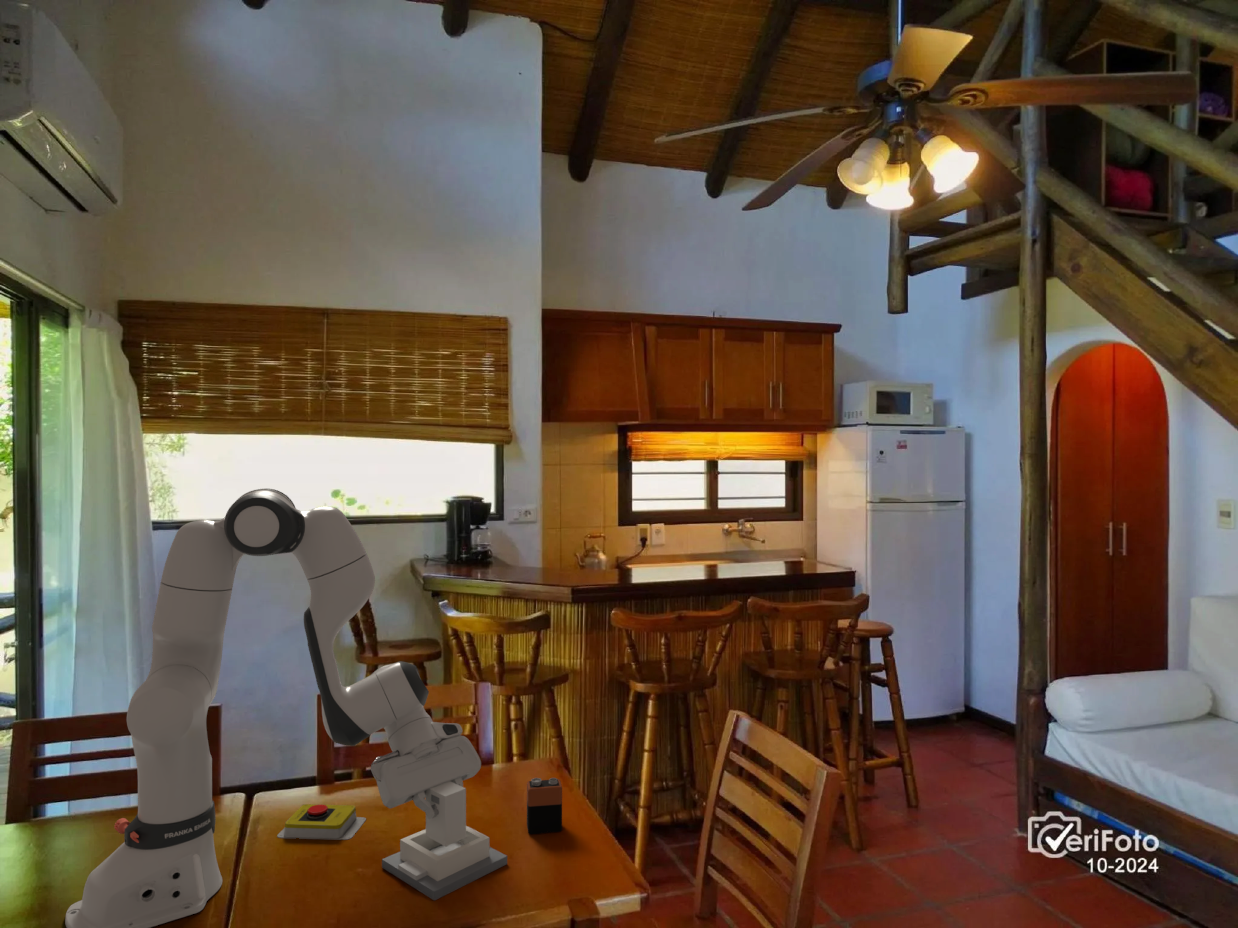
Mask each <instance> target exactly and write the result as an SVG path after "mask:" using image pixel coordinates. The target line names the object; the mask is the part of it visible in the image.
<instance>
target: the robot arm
mask: <svg viewBox="0 0 1238 928" xmlns="http://www.w3.org/2000/svg"><path fill="white" fill-rule="evenodd" d="M173 538H174V539H173V541H172V543H171V545H170V548H169V549H168V554H167V556H166V560H165V563H164V567H163V570H162V575H161V578H160V585H159V588H158V589H159V590H158V595H157V599H156V605H155V611H154V616H153V620H152V626H151V630H152V652H151V653H152V654H151V655H152V656H151V662H150V670H149V673H148V674H147V678H146V679H145V680H144V682H143V683H142V684H141V685H139V687H138V688H137V689H136V690H135V691H134V693H133V694H132V696H131V699H130V701H129V704H128V708H127V712H126V726H127V729H128V731H129V733H130V735H131V742H132V749H133V753H134V757H135V762H136V768H137V769H136V770H137V814H136V816H135V817H134V818H133V820H132V821H129V820H128V819H127V818H125V817H122V818H119V819H118V820H116V821H115V823H114V826H113V827H114V830H115V831H117V832H118V834H120V835H123V834H124V837H123V838H124V842H123V843H121V844H120V845H119V846H118V847H117V848H116V849H115V850H114V851H113V852H112V853H110V855H109V856H108V857H106V858H105V859H104V860H103V861H102V862H101V863H100V864H99V865H98V866H97V867H95V868H94V869H93V870H92V871H91V872H90V873H89V874H88V876H87V879H86V881H85V884H84V887H83V892H82V899H81V900H78V901H76V902H74V903H73V904H71V905H70V906H69V907H68V908H67V911H66V913H65V917H64V918H65V920H64V922H65V923H64V924H65V928H153V927H156V926H158V925H163V924H165V923H169V922H172V921H176V920H178V919H182V918H185V917H188V916H191V915H193V914H197V913H200V912H201V911H202V910H203V909H204V908H205V906H206V904H207V901H208V900H209V899H211V898H212V897H213V896H214V895H215V894H216V893H217V892H218V891H219V890H220V888H221V887H222V885H223V877H222V875H221V874H222V873H221V872H220V868H219V864H218V860H217V856H216V854H217V853H216V848H215V841H214V834H215V831H216V808H215V807H216V806H215V801H214V800H213V758H212V757H213V756H212V755H211V752H210V746H209V740H208V739H209V738H208V731H207V729H208V728H207V715H208V710H209V707H210V706H211V703H212V702H213V701H214V700H215V697H216V695H217V692H218V687H219V680H220V674H221V665H222V657H223V647H224V637H225V630H226V625H227V619H228V618H227V617H228V613H229V609H230V602H231V597H232V593H233V592H232V591H233V587H234V581H235V575H236V570H237V567H238V565H239V562H240V560H241V559H242V557H244V556H245V555H248V556H253V557H267V556H273V555H282V554H290V553H292V554H293V555H294V557H295V558H296V560H298V563H299V565H300V567H301V569H302V571H303V573H304V575H305V578H306V579H307V582H308V585H309V588H310V600H309V601H310V602H309V606H308V608H306V610H305V611H304V613H303V627H304V632H305V636H306V639H307V647H308V651H309V657H310V659H311V663H312V664H311V665H312V668H313V673H314V676H315V680H316V685H317V688H318V690H319V694H320V700H321V716H322V723H323V726H324V729H325V731H326V733H327V735H328V736H329V738H330V739H331V740H332V741H333V743H335V744H338V745H339V744H340V745H344V746H350V747H355V746H357V745H358V744H360V743H362V741H365V739H367V738H369V737H371V735H372V734H374V733H376V732H378V731H380V730H381V729H384V731H385V734H386V739H387V743H388V745H389V747H390V749H391V751H392V752H388V753H386V754H384V755H380V756H377V757H375V759H374V761H372V763H371V764H370V765H371V766H370V771H371V773H372V776H373V777H374V780H375V781H376V785H377V790H378V793H379V796H380V800H381V802H382V804H383V806H385V807H387V808H388V809H393V808H396V807H398V806H401V805H404V804H407V803H408V802H411V801H413V803H414V806H416V807H417V808H418V809H420V810H421V811H422V812H424V813H425V816H426V815H427V817H428V819H432V818H434V817H436V816H437V815H438V814H439V811H438V809H437V806H436V804H434V805H431V804H430V803H429V802H428V801H426V790H428V789H430V788H433V787H435V786H438V785H441V784H443V783H446V782H449V781H451V782H453V783H455V784H457V785H460V786H462V787H464V782H463V781H466V780H468V779H470V778H473V777H475V775H477V774H478V773H479V771H480V769H481V768H482V767H481V766H482V761H481V758H480V756H479V754H478V753H477V751H476V749H475V747H474V746H473V744H472V743H471V741H470V740H469V738H468V737H466V736H464V735H462V733H463V728H462V726H461V724H460V723H456V722H455V723H453V722H452V723H450V722H449V723H448V722H446V723H445V722H437V721H433V719H432V717H431V716H430V715H429V714H428V713H427V712H426V710H425V704H426V703H427V699H428V697H429V694H430V692H429V690H428V688H427V686H426V685H425V684H424V682H423V680H422V678H421V677H420V672H419V669H418V667H417V666H416V665H415V664H412V663H409V662H406V661H401V660H400V661H397V662H394V663H390V664H386V665H384V666H383V665H382V666H381V667H379V668H377V669H375V670H374V672H372V673H371V674H370V675H369V676H366V677H364V678H363V679H359V680H358V681H357V682H355V683H353V684H351V685H347V686H344V685H342V682H341V677H340V673H339V669H338V664H337V661H336V657H335V656H336V655H335V653H334V642H335V639H336V637H337V635H338V634H339V632H340V631H341V630H342V629H343V627H344V626H345V625H346V624H347V623H349V621H351V619H352V618H353V617H355V616H356V614H358V612H359V611H361V609H362V608H363V607H364V606H365V605H366V603H367V602H368V600H370V599H369V598H370V597H371V596H372V594H373V591H374V589H375V584H376V583H375V582H376V577H375V573H374V569H373V566H372V563H371V561H370V560H371V559H370V558H369V555H368V553H367V551H366V549H365V547H364V544H363V543H362V541H361V538H360V537H359V535H358V534H357V532H356V530H355V529H354V527H353V525H352V524H351V522H350V521H349V520H348V518H347V517H346V515H345V514H344V513H343V511H342V510H340V509H339V508H336V507H333V506H318V507H315V508H312V509H309V510H300V509H297V508H296V506H295V504H294V502H293V501H292V499H291V498H290V497H289V496H288V495H287V494H285V493H284V492H282V491H280V490H276V489H273V488H260V489H259V488H258V489H253V490H250V491H248V492H246V493H244V494H242V495H241V496H239V497H238V498H237V499H236V500H235V501H234V502H233V503H232V504H231V505H230V507H229V508H228V510H227V511H226V514H225V517H224V518H221V519H217V520H210V519H199V520H193V521H191V522H187V523H186V524H183V525H182V526H181V527H180V528H179V529H178V530H177V532H176V533H175V535H174V537H173Z"/></svg>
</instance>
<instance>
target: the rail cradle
mask: <svg viewBox="0 0 1238 928" xmlns="http://www.w3.org/2000/svg"><path fill="white" fill-rule="evenodd" d="M399 841H400V842H399V847H400V848H399V849H400V851H398V852H395V853H393V854H390V855H388V856H386V857H385V858H384V857H383V858H382V859H381V868H382V869H384V870H385V871H387V872H388V873H390V874H392V875H393V876H395V877H396V878H398V879H400V880H401V881H402V882H404V883H405V884H408V885H409V886H411V887H412V888H414V889H415V890H416V891H418V892H420V893H421V894H423V895H424V896H426V897H428V898H429V899H431V900H433V901H436V900H437V901H438V899H441V898H442V897H444V896H447V895H448V894H450V893H452V892H455V891H456V890H459V889H461V888H462V887H464V886H466V885H469V884H470V883H473V882H474V881H477V880H478V879H480V878H483V877H484V876H486V875H488V874H490V873H492V872H494V871H497V870H498V869H501V868H502V867H504V866H506V865H508V855H507V854H504V853H502V852H500V851H499V850H497V849H495V848H493V847H491V846H490V837H489V836H487V835H486V834H484V833H482V832H479V831H477V830H476V829H475V828H472V827H471V826H467V825H466V838H464V839H461V840H459V841H457V842H455V843H453V844H450V845H448V846H446V847H445V846H443V845H442V844H440V843H438V842H436V841H434V840H433V839H431V838H429V837H427V836H426V828H425V829H422V830H421V831H418V832H415V833H413V834H410V835H408V836H405V837H403V838H401V839H399Z"/></svg>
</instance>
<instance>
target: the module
mask: <svg viewBox="0 0 1238 928" xmlns="http://www.w3.org/2000/svg"><path fill="white" fill-rule="evenodd" d="M425 800H426V801H428V802H429V803H430V804H431V805H434V804H436V806H437V809H438V811H439V814H438V815H437V816H436V817H434V818H432V819H428V817H427V815H426V814H425V829H426V836H427V837H429V838H431V839H433V840H434V841H436V842H438V843H440V844H442V845H443V846H445V847H446V846H448V845H450V844H453V843H455V842H457V841H459V840H461V839H464V838H466V826H467V788H466V787H464V786H463V787H462V786H460V785H457V784H455V783H453V782H451V781H449V782H446V783H443V784H441V785H438V786H435V787H433V788H430V789H428V790H426V798H425Z"/></svg>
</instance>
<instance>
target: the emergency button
mask: <svg viewBox="0 0 1238 928" xmlns="http://www.w3.org/2000/svg"><path fill="white" fill-rule="evenodd" d="M356 810H357V809H356V805H354V804H353V805H351V804H350V805H349V804H315V803H314V804H311V803H310V804H309V803H307V804H303V805H301V806H300V807H299V808H298V809H297V810H296V811H295V812H294V813H293V814H292V815H291V816H290V817H289V818H288V819H287V820H286V821H285V822H284V828H283V829H282V830H280V832H279V833H278V834H277V836H276V838H279V839H296V838H299V839H298V840H301V839H302V840H305V839H306V840H333V841H334V840H336V841H337V840H340V841H342V840H343V841H346V840H350V839H352V838H354V837H355V835H356V834H357V832H358V831H359V829H360V828H361V827H362V826H363V825H364V823H365V822H366V821H367V818H366V817H361V816H357V813H356V812H357V811H356ZM355 833H356V834H355Z"/></svg>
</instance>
